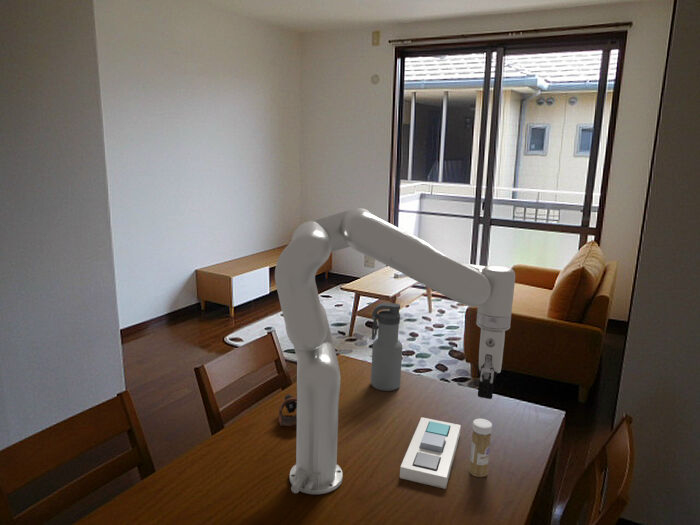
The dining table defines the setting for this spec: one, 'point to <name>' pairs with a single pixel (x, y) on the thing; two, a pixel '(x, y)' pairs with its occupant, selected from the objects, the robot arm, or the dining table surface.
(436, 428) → the teal key
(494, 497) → the dining table surface
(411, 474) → the keypad frame
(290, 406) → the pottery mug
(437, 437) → the slate key
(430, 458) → the charcoal key
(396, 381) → the water bottle
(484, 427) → the sprinkles bottle
